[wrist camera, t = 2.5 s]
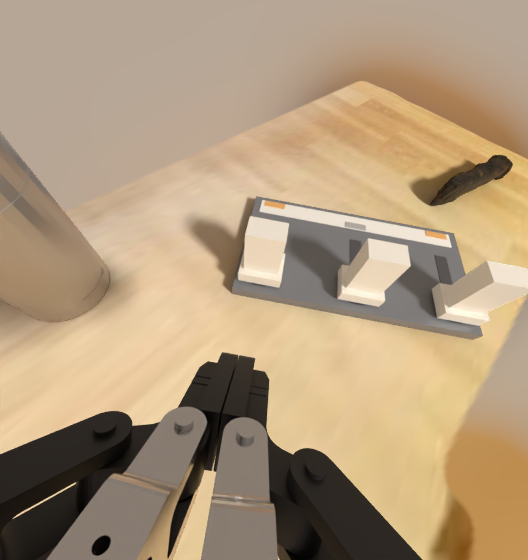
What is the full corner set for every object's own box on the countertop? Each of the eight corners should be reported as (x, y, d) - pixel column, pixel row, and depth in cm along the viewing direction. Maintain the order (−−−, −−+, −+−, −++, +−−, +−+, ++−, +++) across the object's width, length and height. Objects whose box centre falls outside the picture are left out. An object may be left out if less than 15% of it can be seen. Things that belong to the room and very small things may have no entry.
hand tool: (481, 169, 51) (502, 146, 47) (499, 181, 49) (522, 159, 45) (416, 197, 45) (433, 174, 41) (433, 212, 43) (453, 190, 39)
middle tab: (337, 298, 30) (364, 263, 24) (337, 270, 32) (362, 231, 26) (378, 306, 30) (417, 273, 24) (376, 278, 32) (411, 240, 26)
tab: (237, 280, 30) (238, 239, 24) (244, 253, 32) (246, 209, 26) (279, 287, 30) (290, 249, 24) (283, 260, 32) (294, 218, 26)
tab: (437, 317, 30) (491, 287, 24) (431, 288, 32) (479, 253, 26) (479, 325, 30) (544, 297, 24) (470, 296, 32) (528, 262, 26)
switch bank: (232, 293, 32) (232, 287, 30) (255, 203, 40) (256, 195, 38) (472, 339, 31) (484, 335, 30) (446, 239, 40) (454, 232, 38)
